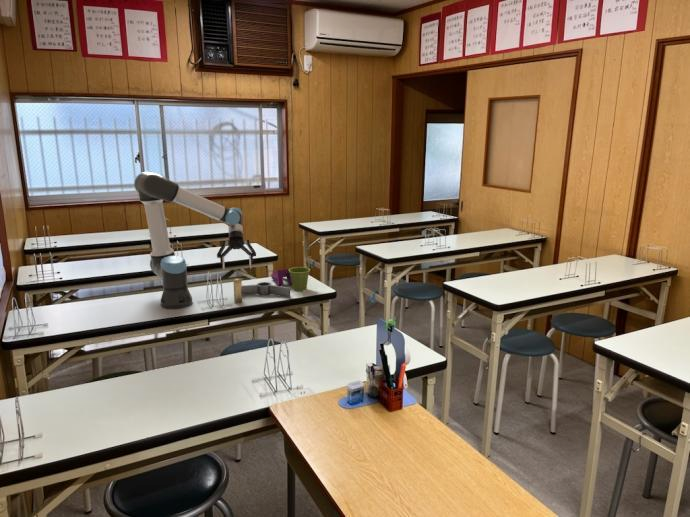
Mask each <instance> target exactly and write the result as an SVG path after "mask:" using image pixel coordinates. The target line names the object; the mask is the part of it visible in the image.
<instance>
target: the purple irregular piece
mask: <svg viewBox="0 0 690 517" xmlns="http://www.w3.org/2000/svg"><path fill="white" fill-rule="evenodd" d="M289 269H290V268H286V269H279V270H276V271H274V272H273V273H272V274H271V279H272V280H274V282H275V286H282V287H283V286H284V278H286V282H287V284H288V285H289V286H293V285H292V280H291V275H290V272H289ZM283 277H284V278H283Z"/></svg>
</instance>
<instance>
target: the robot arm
mask: <svg viewBox="0 0 690 517" xmlns="http://www.w3.org/2000/svg"><path fill="white" fill-rule="evenodd" d="M133 182H134V184H133V185H134V189H135V190H136V192H137V194H138V197H139V202H141V203H142V204H143V206H144V211H145V212H144V213H145V215H146V216H145V218H146V222H147V227H148V233H149V237H150V242H151V244H150V245H151V248H152V250H151V251H150V254H149V255H150V260H149V266H150V269H151V271H152V273H153V274H154V275H156V276H158V277H159V278H161V280H162V290H163V291H162V293H161V296H160V297H161V298H160V307H161V308H163V307H164V308H163V309H168V310H169V309H170V310H174V309H183V308H187V307H189V306H191V305H192V304H193V297H192V294H191V293H190V290H189V286H188V285H189V284H188V273H187V270H188V269H187V262H186V259H185V258H184V257H181V256H179V255H176V254H175V250H174V249H173V248H171V244H170V243H171V242H170V237H169V232H168V228H167V227H168V226H167V222H166V217H165V216H166V214H165V210H164V204H163V201H166V202H169V203H176V204H179V205H181V206H183V207H186V208H188V209H190V210H193V211H195V212H198V213H200V214H202V215H205V216H207V217H208V218H211V219H212V220H216V221H219V222H222V223H224V224H227V225H228V241H226V240H223V241H222V245H221V246H220V248H219V250H218V251H217V254H216V258H217V259H219V260H220V264H221V265H222V270H224V271H225V269H226V268H225V257H226V256H227V255H228V254H229V252H231V251H232V250H242V251H243V252H244V253H245V254H247V256H248V258H249V259H248V260H249V270H251V269H252V263H253V262H254V257H257V252H256V250H255V249H254V248H253V246H252V245H251V243H250V240H249V239H247V240H244V231H243V230H244V229H243V225H244V224H243V212H242V209H241V208H239V207H231V208H228V207H226V206H225V205H221V204H219V203H217V202H214V201H212V200H209V199H208V198H205V197H204V196H201V195H198V194H196V193H194V192H191V191H190V190H187V189H185V188H183V187H180V184H179V183H176V182H174V181H173V180H170V179H169V178H167V177H165V176H164V175H162V174H160V173H156V172H152V171H143V172H140V173H138V174H137V175H136V177H135V179H134V181H133ZM245 245H246V246H247V247H246V246H245ZM226 247H227V248H226Z"/></svg>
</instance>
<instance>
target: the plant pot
mask: <svg viewBox="0 0 690 517" xmlns="http://www.w3.org/2000/svg"><path fill="white" fill-rule="evenodd" d="M288 269H289V272H290V275H291V280H292V285H291V286H292V290H293V291H295V292H298V291H300V292H303V290H304V291H307V288H308V282H309V275H310V271H311V269H310V268H309V267H306V266H305V267H304V266H295V267H291V268H288Z"/></svg>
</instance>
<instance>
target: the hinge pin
mask: <svg viewBox="0 0 690 517" xmlns="http://www.w3.org/2000/svg"><path fill="white" fill-rule="evenodd" d="M232 281H233V301H234V304H242V303H243V295H242V286H243V284H242V278H233V280H232Z"/></svg>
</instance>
